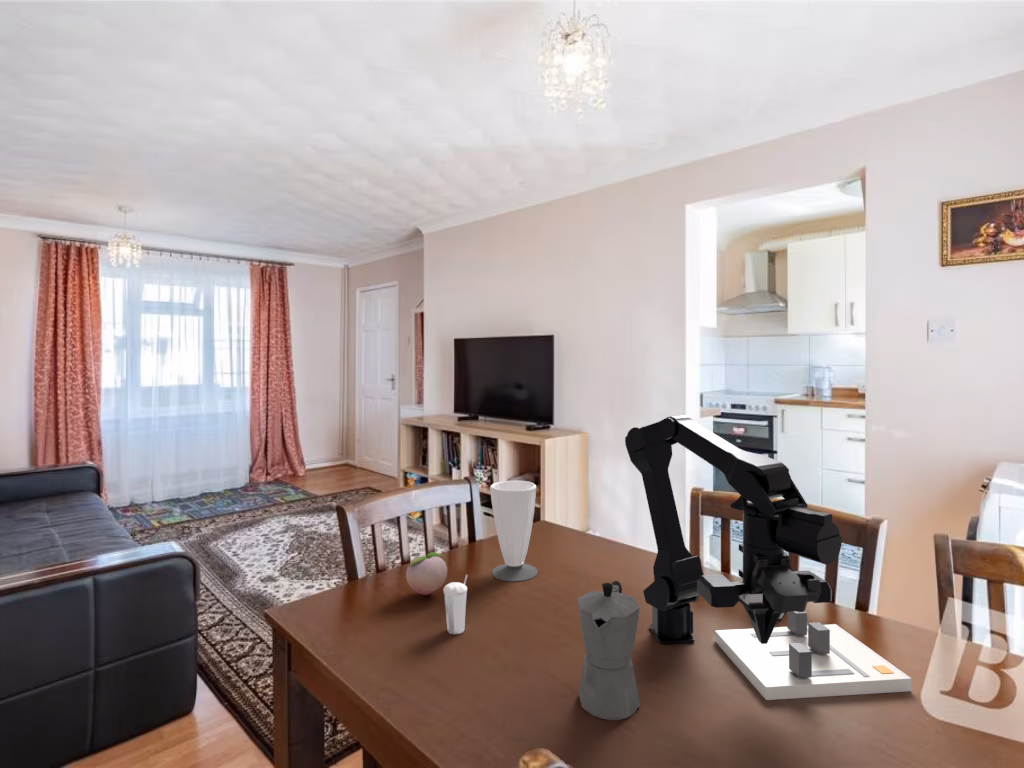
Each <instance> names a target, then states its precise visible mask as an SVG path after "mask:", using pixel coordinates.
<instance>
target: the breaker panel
mask: <svg viewBox="0 0 1024 768" xmlns="http://www.w3.org/2000/svg"><path fill="white" fill-rule="evenodd" d="M823 625H824V626H825V627H827V628H828V629H829V630H830V654H817V653H816V652H815V651H814V650H812V649H811V648H810V647H809V646H808V625H807V635H801V636H796V635H795V634H793V633H792V632H791V631H790V630H789V629H787V626H779V627H778V626H775V627H774V629H773V631H772V633H771V636H770V638H769V640H768V643H767V644H761V643H760V642H759V640H758V638H757V636H756V633H755V631H754V628H753V627H752V628H740V629H739V628H737V629H736V628H735V629H733V628H732V629H721V630H720V629H719V630H718V629H715V630H714V642H715V644H716V645H718V647H719V648H720V649H721V651H723V653H724V654H725V655H726V656H727V657H728V658H729V660H731V661H732V662H733V664H734V665H735V666H736V668H737V669H738V670H739V671H740V672H741V673H742V674H743V675H744V676H745V678H746V679H747V680H748V681H749V682H750V684H751V685H752V686H753V687H754V688H755V689H756V690H757V692H759V694H760V696H762V697H763V698H764V700H765V701H773V700H776V701H777V700H787V699H788V700H789V699H808V698H822V697H837V696H841V697H842V696H853V695H858V696H859V695H869V694H870V695H873V694H886V693H901V692H902V693H905V692H906V693H907V692H912V678H911V677H910V676H909V675H908V674H906V673H904V672H903V671H902V670H900V669H899V668H897V667H896V666H894V665H893V664H892V663H890V662H889V661H888V660H886V659H885V658H883V657H882V656H881V655H880V654H878V653H877V652H875V651H874V650H873V649H871V648H870V647H868V646H867V645H865V644H864V643H862V641H860V640H859V639H857V638H856V637H854V636H853V635H852V634H850V633H849V632H847V631H846V630H845V629H843V628H841V626H839V625H838V624H836V623H832V624H823ZM790 643H802V644H803V645H804V646H806V647H807V648H808V649H809V650H810V651H811V652H812V677H811V678H798V677H797V676H796V675H795V674H794V673H793V672H792V671H791V670H790V669H789V644H790Z"/></svg>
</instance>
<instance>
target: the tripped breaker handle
mask: <svg viewBox="0 0 1024 768" xmlns="http://www.w3.org/2000/svg"><path fill="white" fill-rule="evenodd" d="M789 669H790V670H791V671H792V672H793V673H794V674H795V675H796V676H797V677H798V678H811V677H812V652H811V651H810V650H809V649H808V648H807V647H806V646H804V645H803V644H802V643H790V644H789Z"/></svg>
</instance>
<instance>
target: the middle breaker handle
mask: <svg viewBox="0 0 1024 768" xmlns="http://www.w3.org/2000/svg"><path fill="white" fill-rule="evenodd" d="M824 625H825V624H822V623H821V622H820V621H818V622H817V621H816V622H815V621H814V622H807V626H808V646H809V647H810V648H811V649H812V650H814V651H815V652H816V653H817V654H830V630H829V629H828V628H827V627H825V626H824Z"/></svg>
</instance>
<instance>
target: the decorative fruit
mask: <svg viewBox="0 0 1024 768" xmlns="http://www.w3.org/2000/svg"><path fill="white" fill-rule="evenodd" d="M441 557H443V555H442V554H441V553H439V552H434V551H432V552H428V550H425V554H424V555H422V556H417V557H415V558H414V559H412V560H411V561H410V563H409V565H408V566H407V568H406V571H405V579H406V582H407V585H409V587H410V589H412V590H413V591H414V592H415V593H418V594H420V595H424V596H429V595H430V594H431V593H433V592H435V591H437V590H438V589H440V588H441V587H443V585H444V583H445V582H446V579H447V576H448V567H447V563H446V562H445V561H444V559H443V558H441Z"/></svg>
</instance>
